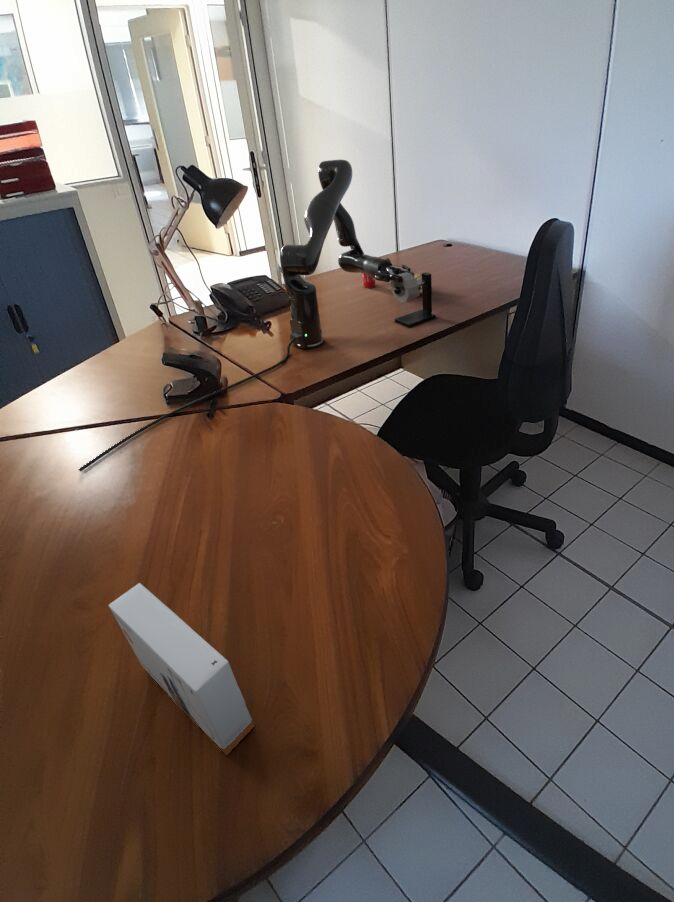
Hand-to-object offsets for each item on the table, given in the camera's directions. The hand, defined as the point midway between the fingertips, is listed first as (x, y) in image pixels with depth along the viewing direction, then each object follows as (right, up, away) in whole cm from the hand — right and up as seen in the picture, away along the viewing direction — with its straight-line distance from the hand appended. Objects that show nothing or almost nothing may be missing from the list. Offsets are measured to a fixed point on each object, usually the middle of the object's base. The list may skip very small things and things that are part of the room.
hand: (407, 278), depth 189 cm
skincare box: (-31, -88, -110) cm, 144 cm away
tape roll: (-1, -7, +6) cm, 9 cm away
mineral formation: (+2, +4, +39) cm, 39 cm away
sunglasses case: (-12, +19, +66) cm, 69 cm away
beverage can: (-16, +8, +48) cm, 51 cm away
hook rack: (+3, -12, +12) cm, 18 cm away
